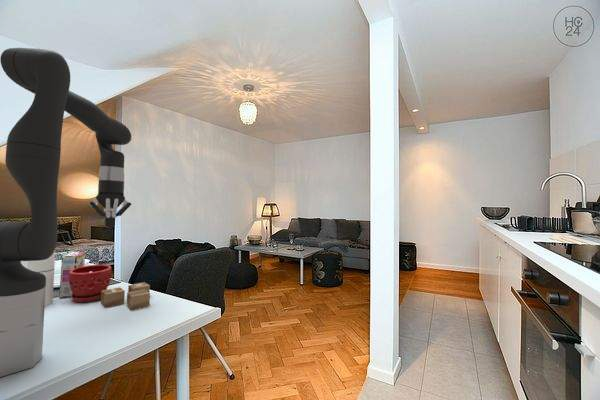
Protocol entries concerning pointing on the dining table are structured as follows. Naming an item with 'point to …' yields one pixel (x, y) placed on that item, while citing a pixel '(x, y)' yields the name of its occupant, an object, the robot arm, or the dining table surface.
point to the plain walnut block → (138, 299)
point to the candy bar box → (67, 265)
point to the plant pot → (89, 282)
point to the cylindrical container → (48, 270)
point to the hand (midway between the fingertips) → (109, 228)
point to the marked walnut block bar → (112, 297)
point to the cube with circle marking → (139, 287)
